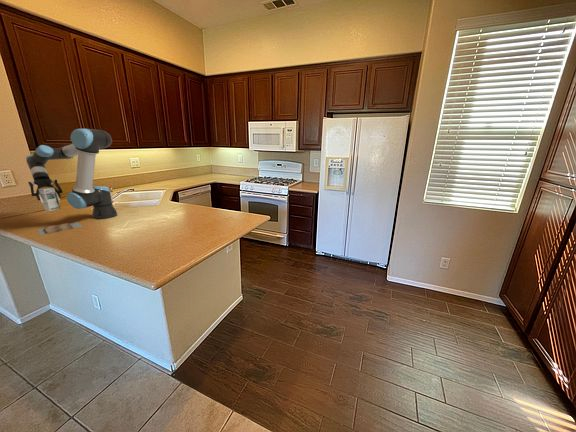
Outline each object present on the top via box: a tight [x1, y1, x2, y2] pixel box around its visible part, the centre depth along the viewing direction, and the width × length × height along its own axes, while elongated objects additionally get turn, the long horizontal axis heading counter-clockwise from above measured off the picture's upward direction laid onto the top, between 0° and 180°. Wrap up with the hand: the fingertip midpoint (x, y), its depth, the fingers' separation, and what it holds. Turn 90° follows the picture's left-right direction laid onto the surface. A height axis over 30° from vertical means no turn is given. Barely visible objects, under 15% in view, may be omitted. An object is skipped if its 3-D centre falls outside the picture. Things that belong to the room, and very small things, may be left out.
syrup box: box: [38, 187, 61, 212], centre depth 155 cm, size 6×6×14 cm
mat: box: [37, 221, 84, 236], centre depth 154 cm, size 20×14×1 cm
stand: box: [43, 222, 74, 234], centre depth 152 cm, size 12×12×1 cm
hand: (51, 202), depth 153 cm, fingers closed on syrup box, 7 cm apart
